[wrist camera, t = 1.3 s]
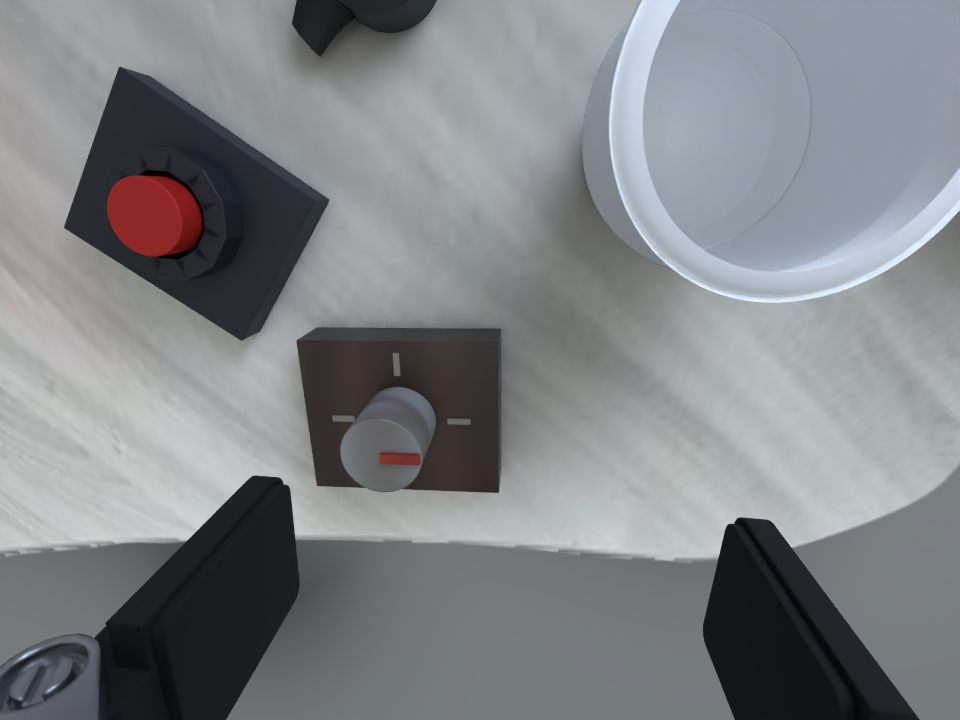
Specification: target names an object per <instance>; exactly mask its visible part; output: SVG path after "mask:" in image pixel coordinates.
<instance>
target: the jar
mask: <svg viewBox="0 0 960 720" xmlns="http://www.w3.org/2000/svg"><path fill="white" fill-rule="evenodd" d="M582 158H583V167H584V173H585V177H586V181H587V185H588V188H589V191H590V194H591V196H592V199H593V201H594V203H595V205H596V207H597V209H598V211H599V213H600V214H601V216H602V218H603V219H604V221H605V222H606V223H607V225H608V226H609V227H610V228H611V230H612V231H613V232H614V233H615V234H616V235H617V236H618V237H619V238H620V239H621V240H622V241H623V242H624V243H625V244H627V245H628V246H629V247H630V248H632V249H633V250H634V251H636V252H637V253H639V254H640V255H642V256H644V257H645V258H647V259H649V260H651V261H653V262H655V263H657V264H660V265H662V266H664V267H667V268H670V269H673V270H674V271H676V272H677V273H679V274H680V275H681V276H683V277H685V278H686V279H688V280H689V281H691V282H693V283H695V284H697V285H699V286H701V287H703V288H705V289H707V290H710V291H712V292H715V293H718V294H721V295H724V296H728V297H732V298H736V299H741V300H747V301H755V302H793V301H801V300H807V299H813V298H818V297H822V296H826V295H829V294H833V293H836V292H839V291H842V290H845V289H848V288H851V287H853V286H856V285H858V284H860V283H863V282H865V281H867V280H869V279H871V278H873V277H875V276H877V275H879V274H881V273H883V272H884V271H886V270H888V269H890V268H891V267H893V266H895V265H896V264H898V263H899V262H901V261H902V260H904V259H905V258H907V257H908V256H910V255H911V254H912V253H914V252H915V251H916V250H918V249H919V248H920V247H922V246H923V245H924V244H925V243H926V242H928V241H929V240H930V239H931V238H932V237H933V236H935V235H936V234H937V233H938V232H939V231H940V230H941V229H942V228H943V227H944V226H945V225H946V224H947V223H948V222H949V221H950V220H951V219H952V218H953V217H954V216H955V215H956V214H957V213H958V212H959V211H960V0H640V1H639V3H638V5H637V7H636V9H635V11H634V13H633V15H632V17H631V18H630V20H629V21H628V22H627V24H626V25H625V26H624V28H623V29H622V31H621V32H620V33H619V35H618V36H617V38H616V39H615V41H614V43H613V44H612V46H611V48H610V49H609V51H608V53H607V55H606V57H605V59H604V61H603V62H602V65H601V67H600V69H599V71H598V73H597V76H596V78H595V81H594V83H593V86H592V89H591V92H590V95H589V99H588V103H587V107H586V111H585V116H584V123H583V132H582Z"/></svg>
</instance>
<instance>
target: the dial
mask: <svg viewBox="0 0 960 720" xmlns="http://www.w3.org/2000/svg"><path fill="white" fill-rule="evenodd" d="M435 428H436V417H435V413H434V411H433V408H432V406H431V405H430V403H429V402H428V401H427V400H426V399H425V398H424V397H423V396H422V395H421V394H419V393H417V392H416V391H414V390H411V389H408V388H403V387H392V388H387V389H384V390H382V391H380V392H379V393H377V394H376V395H375V396H374V397H373V398H372V399H371V400H370V401H369V403H368V404H367V405H366V407H365V408H364V409H363V411H362V412H361V413H360V415H359V416H358V417H357V419H356V420H355V421H354V423H353V424H352V425H351V427H350V428H349V429H348V431H347V432H346V433H345V435H344V437H343V439H342V442H341V448H340V455H341V460H342V463H343V466H344V468H345V470H346V471H347V473H348V474H349V475H350V476H351V478H353V479H354V480H355V481H356V482H357V483H359V484H360V485H362V486H363V487H366V488H368V489H370V490H374V491H378V492H392V491H397V490H400V489H402V488H404V487H406V486H408V485H409V484H410V483H412V482H413V480H414V479H415V478H416V477H417V475H418V473H419V471H420V469H421V466H422V464H423V461H424V458H425V456H426V453H427V451H428V448H429V445H430V443H431V440H432V438H433V435H434V432H435Z"/></svg>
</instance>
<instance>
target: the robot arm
mask: <svg viewBox="0 0 960 720" xmlns="http://www.w3.org/2000/svg"><path fill="white" fill-rule="evenodd" d="M298 591H299V572H298V562H297V553H296V542H295V533H294V523H293V513H292V503H291V493H290V488H289V486H287V485H283V481H282V479H280V478H278V477H266V476H252V477H251V478H249V479H248V480H247V481H246V482H245V483H244V484H243V485H242V486H241V487H240V488H239V489H238V490H237V491H236V492H235V493H234V494H233V495H232V496H231V497H230V498H229V499H228V500H227V501H226V502H225V503H224V504H223V505H222V506H221V507H220V508H219V509H218V510H217V511H216V512H215V513H214V514H213V515H212V517H211V518H210V519H209V520H208V521H207V522H206V523H205V524H204V525H203V526H202V527H201V528H200V529H199V530H198V531H197V532H196V533H195V534H194V535H193V536H192V537H191V538H190V539H189V540H188V541H187V542H186V543H185V544H184V545H183V546H182V547H181V548H180V549H179V550H178V551H177V552H176V553H175V554H174V555H173V556H172V557H171V558H170V559H169V560H168V561H167V562H166V563H165V564H164V565H163V566H162V567H161V568H160V569H159V570H158V571H157V572H156V573H155V574H154V575H153V576H152V577H151V578H150V579H149V580H148V581H147V582H146V583H145V584H144V585H143V586H142V587H141V588H140V589H139V590H138V591H137V592H136V593H135V594H134V595H133V596H132V597H131V598H130V599H129V600H128V601H127V602H126V603H125V604H124V605H123V606H122V607H121V608H120V609H119V610H118V611H117V612H116V613H115V614H114V615H113V616H112V617H111V618H110V619H109V620H108V621H107V622H106V627H105V628H104V629H103V630H102V631H101V632H100V633H99V634H98V635H97V636H96V637H95V638H93V637H91V636H88V635H83V634H68V635H61V636H58V637H54V638H50V639H47V640H45V641H42V642H40V643H38V644H35V645H33V646H31V647H29V648H27V649H25V650H23V651H22V652H20V653H19V654H17V655H15V656H14V657H12V658H10V659H9V660H8V661H7V662H5V663H4V664H3V665H2V666H0V720H226V719H227V717H228V715H229V714H230V712H231V710H232V709H233V707H234V705H235V703H236V702H237V700H238V698H239V697H240V695H241V693H242V691H243V690H244V688H245V686H246V684H247V683H248V681H249V679H250V677H251V676H252V674H253V672H254V670H255V669H256V667H257V665H258V664H259V662H260V660H261V659H262V657H263V655H264V653H265V652H266V650H267V648H268V647H269V645H270V643H271V641H272V640H273V638H274V636H275V634H276V633H277V631H278V629H279V628H280V626H281V624H282V622H283V621H284V619H285V617H286V616H287V614H288V612H289V610H290V609H291V607H292V605H293V604H294V602H295V600H296V598H297V595H298ZM703 636H704V641H705V645H706V647H707V650H708V652H709V655H710V657H711V660H712V662H713V665H714V668H715V670H716V673H717V675H718V678H719V680H720V683H721V685H722V688H723V690H724V693H725V696H726V698H727V701H728V703H729V706H730V708H731V711H732V713H733V716H734V718H735V720H919V718H918V717H917V716H916V714H915V713H914V712H913V710H912V709H911V708H910V706H909V705H908V704H907V702H906V701H905V699H904V698H903V697H902V696H901V694H900V693H899V691H898V690H897V689H896V687H895V686H894V685H893V683H892V682H891V681H890V679H889V678H888V677H887V675H886V674H885V673H884V671H883V670H882V669H881V667H880V666H879V665H878V663H877V662H876V661H875V659H874V658H873V657H872V655H871V654H870V653H869V651H868V650H867V649H866V647H865V646H864V644H863V643H862V642H861V641H860V639H859V638H858V636H857V635H856V634H855V632H854V631H853V630H852V629H851V627H850V626H849V624H848V623H847V622H846V620H845V619H844V618H843V616H842V615H841V614H840V612H839V611H838V610H837V608H836V607H835V606H834V605H833V603H832V602H831V600H830V599H829V598H828V596H827V595H826V594H825V592H824V591H823V590H822V588H821V587H820V586H819V584H818V583H817V582H816V580H815V579H814V577H813V576H812V575H811V573H810V572H809V571H808V569H807V568H806V567H805V565H804V564H803V563H802V561H801V560H800V559H799V557H798V556H797V555H796V553H795V552H794V551H793V549H792V548H791V547H790V545H789V544H788V543H787V541H786V540H785V539H784V537H783V536H782V535H781V533H780V532H779V531H778V529H777V528H776V527H775V525H774V524H773V523H772V522H771V521H769V520H764V519H753V518H741V517H740V518H737V520H736V521H735V523H734V524H728V525H727V527H726V529H725V533H724V538H723V542H722V546H721V550H720V555H719V559H718V563H717V568H716V572H715V577H714V581H713V585H712V589H711V593H710V598H709V602H708V606H707V611H706V615H705V620H704V624H703Z"/></svg>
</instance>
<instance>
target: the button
mask: <svg viewBox="0 0 960 720" xmlns="http://www.w3.org/2000/svg"><path fill="white" fill-rule="evenodd" d="M107 213H108V218H109V221H110V224H111V226H112V228H113V230H114V232H115V234H116V235H117V236H118V238H119V239H120V240H121V241H122V242H123V243H124V244H125V245H126V246H127V247H129V248H130V249H131V250H133V251H135V252H137V253H139V254H142V255H145V256H153V257H156V256H163V255H169V254H175V253H180V252H184V251H186V250H188V249H189V248H191V247H192V246H193V245H194V244H195V243H196V241H197V240H198V238H199V236H200V233H201V229H202V217H201V212H200V209H199V206H198V204H197V202H196V200H195V198H194V197H193V195H192V194H191V193H190V192H189V191H188V190H187V189H186V188H185V187H184V186H183V185H181V184H180V183H178V182H177V181H175V180H173V179H170V178H167V177H161V176H141V175H133V176H128V177H125V178H123V179H121V180H120V181H118V182H117V183H116V184H115V185H114V186H113V188H112V189H111V191H110V193H109V196H108V201H107Z"/></svg>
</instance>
